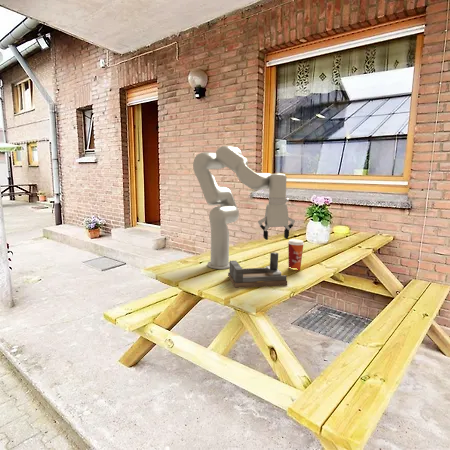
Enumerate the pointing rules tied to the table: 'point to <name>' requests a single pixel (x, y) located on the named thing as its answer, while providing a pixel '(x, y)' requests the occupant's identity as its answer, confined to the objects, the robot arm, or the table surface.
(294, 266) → the coffee cup
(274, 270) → the press carriage
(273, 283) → the base
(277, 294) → the table surface
